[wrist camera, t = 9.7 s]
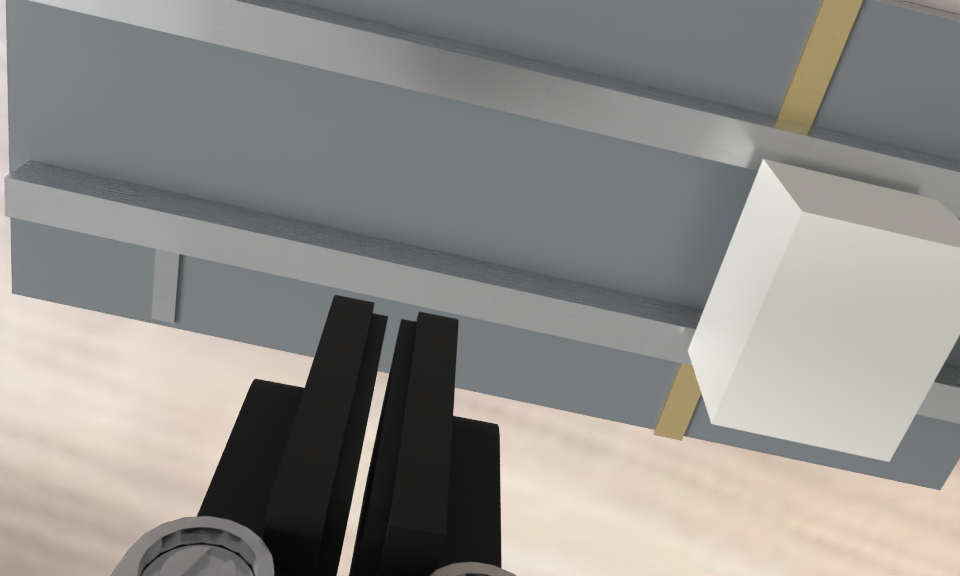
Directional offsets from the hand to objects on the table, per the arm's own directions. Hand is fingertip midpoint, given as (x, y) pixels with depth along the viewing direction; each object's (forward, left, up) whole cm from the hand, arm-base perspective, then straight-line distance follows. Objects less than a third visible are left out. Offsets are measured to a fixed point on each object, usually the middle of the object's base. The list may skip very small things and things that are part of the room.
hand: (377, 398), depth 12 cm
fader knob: (0, +9, -10) cm, 13 cm away
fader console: (0, +3, -12) cm, 13 cm away
